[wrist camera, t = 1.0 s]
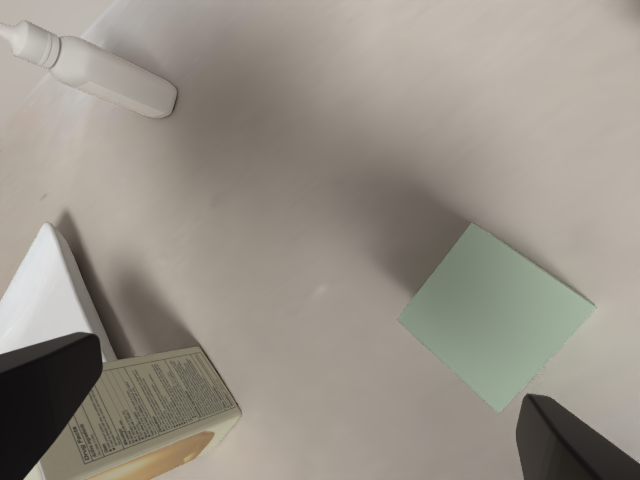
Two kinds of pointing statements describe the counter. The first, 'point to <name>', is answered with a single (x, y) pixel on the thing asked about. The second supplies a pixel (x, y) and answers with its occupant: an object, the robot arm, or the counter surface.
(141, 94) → the eye dropper bottle
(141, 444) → the skincare box
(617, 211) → the counter surface
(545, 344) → the stack block
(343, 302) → the counter surface
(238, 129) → the counter surface
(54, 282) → the salad plate
